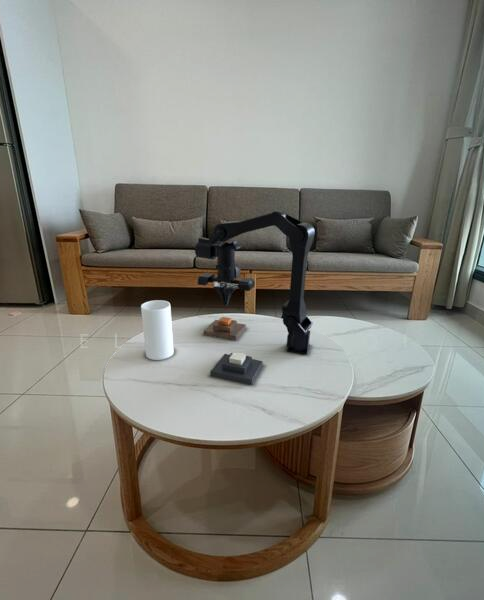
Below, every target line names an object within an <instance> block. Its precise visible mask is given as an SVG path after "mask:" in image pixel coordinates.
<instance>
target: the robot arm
mask: <svg viewBox="0 0 484 600" xmlns="http://www.w3.org/2000/svg"><path fill="white" fill-rule="evenodd" d="M273 226H274V227H276V228H277V229H278V230H279V231H280V232H281V233H282V234H283V235H285V236H286V237H288V239H289V240H288V241H289V248H290V251H291V254H292V257H291V258H292V260H291V270H290V271H291V273H290V285H289V299H288V300H287V301H286V302H285V303H284V304H283V305H282V306H281V313H282V314H281V317H280V319H282V323H283V325H284V326H285V327H286V330H287V337H286V347H287V348H286V351H287V352H290V353H294V354H295V353H296V354H301V355H307V354H308V352H309V350H310V348H311V347H310V346H311V344H310V339H311V330H310V329H311V328H312V326H313V324H314V322H313V321H312V319H311V318H310V317H309V316H308V314H307V304H306V302H305V299H304V297H305V287H306V275H307V266H308V256H309V252H310V250H311V247H312V245H313V241H314V237H315V234H316V232H315V231H316V230H315V228H314V226H313V225H312V224H311V223H309V222H303V221H301V220H300V219H298V218H296V217H293V216H291V215H290V214H288V213H287V212H285V211H284V210H281V209H280V210H275V211H272V212H270V213H267V214H263V215H259V216H256V217H252V218H248V219H245V220H234V221H233V220H232V221H225V222H220V223H218V224H215V226H214V229H213V233H212V234H211V235H210V238H207V237H202V236H201V237H198V238H197V239H198V242H197V243H196V245H195V248H194V253H195V254H194V255H195V257H197V258H198V259H205V260H215V259H216V265H215V269H216V270H217V276H216V275H215V273H210V272H204V273H202V274H201V275H199V276H198V277H197V285H198V286H207V285H208V284H209V283H213V286H212V289H213V290H215V291H216V292H217V294H218V296H219V298H220V299H221V301H222V304H223V305H224V306H226V307H227V306H228V305H229V302H230V300H231V297H232V294H233V293H234V291H235V290H237V289H238V290H239V291H244V292H250V291H251V290H253V288H255V286H256V285H255V284H256V283H255V280H254V278H251V277H242V278H241V279H237V278H240V277H241V269H242V268H240V267H237V263H236V262H235V258H236V257H235V252H236V250H239V249H241V248H242V246H241V244H239V243H238V242H237V240H234V239H236V238H238V237H240V236H243V235H244V234H246V233H249V232H253V231H257V230H262V229H265V228H268V227H269V228H270V227H273ZM232 240H234V241H232ZM228 241H232V242H228ZM221 243H222V244H221Z"/></svg>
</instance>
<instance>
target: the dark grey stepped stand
mask: <svg viewBox="0 0 484 600" xmlns="http://www.w3.org/2000/svg"><path fill="white" fill-rule="evenodd" d="M233 353H234V352H230V354H228V353H224V354H223V355H222V356H221V358H220V359H219V360H218V361H217V363H216V364H215V365H214V366H213V367H212V369H211V370H210V377H212V378H217V379H222V380H227V381H232V382H235V383H240V384H246V385H250V386H252V385H253V384H254V382H255V380H256V378H257V377H258V375H259V373H260V372H261V369H262V368H263V365H264V361H263V360H259V359H255V358H253V356H250V355H246V360H245V361H244V363H243V364H242V365H237V364H232V363H229V358H230V356H231V355H232V354H233Z"/></svg>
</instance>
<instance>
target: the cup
mask: <svg viewBox="0 0 484 600" xmlns="http://www.w3.org/2000/svg"><path fill="white" fill-rule="evenodd" d="M171 308H172V307H171V303H170V302H169V301H167V300H162V299H159V300H158V299H155V300H149V301H145V302H144V303H141V305H140V311H141V320H142V321H141V322H142V329H143V340H144V350H145V356H146V358H147V359H149V360H152V361H162V360H165V359H168V358H170V357H172V356H173V355H174V353H175V351H174V337H173V323H172V321H173V320H172V309H171Z"/></svg>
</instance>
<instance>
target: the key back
mask: <svg viewBox="0 0 484 600" xmlns="http://www.w3.org/2000/svg"><path fill="white" fill-rule="evenodd" d="M220 318H221V319H220ZM220 318H219V319H220V320H219V319H218V320H219V325H225V326H229V325H230V324H231V323H232V320H233V317H226V316H222V317H220Z"/></svg>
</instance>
